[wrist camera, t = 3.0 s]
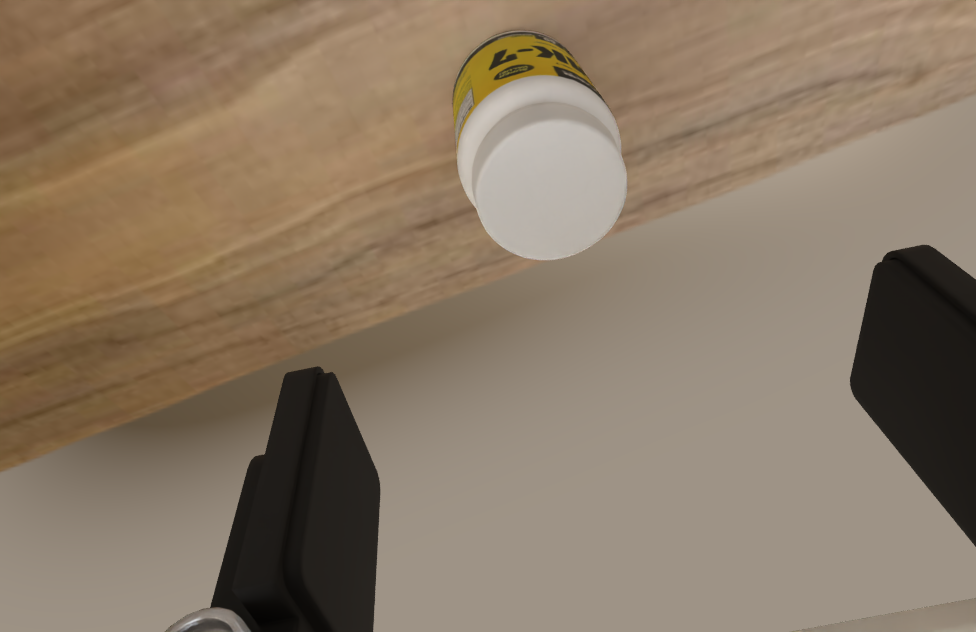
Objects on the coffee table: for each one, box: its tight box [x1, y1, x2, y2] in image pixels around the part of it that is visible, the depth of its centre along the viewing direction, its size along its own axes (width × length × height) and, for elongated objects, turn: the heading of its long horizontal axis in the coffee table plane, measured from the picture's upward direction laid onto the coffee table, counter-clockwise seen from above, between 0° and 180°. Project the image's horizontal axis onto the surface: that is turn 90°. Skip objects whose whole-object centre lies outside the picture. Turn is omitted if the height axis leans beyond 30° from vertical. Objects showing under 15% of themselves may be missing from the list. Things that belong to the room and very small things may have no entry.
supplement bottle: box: [453, 31, 627, 260], centre depth 20 cm, size 5×5×8 cm
